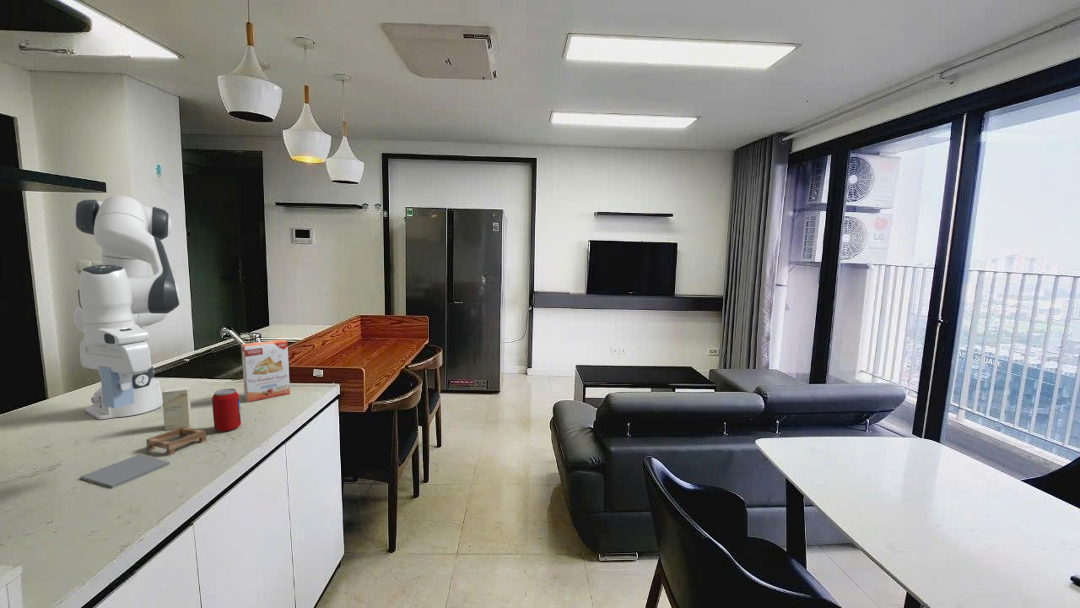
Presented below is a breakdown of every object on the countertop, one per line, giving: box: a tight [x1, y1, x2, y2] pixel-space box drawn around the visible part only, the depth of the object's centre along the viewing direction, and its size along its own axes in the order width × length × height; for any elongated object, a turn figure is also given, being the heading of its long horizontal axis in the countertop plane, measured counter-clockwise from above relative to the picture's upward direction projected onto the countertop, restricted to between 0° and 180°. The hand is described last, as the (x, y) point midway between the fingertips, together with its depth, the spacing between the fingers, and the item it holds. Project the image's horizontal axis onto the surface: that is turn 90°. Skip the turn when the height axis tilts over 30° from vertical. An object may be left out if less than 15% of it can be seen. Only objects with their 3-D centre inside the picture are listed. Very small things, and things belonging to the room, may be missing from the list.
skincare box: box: [161, 385, 192, 431], centre depth 136 cm, size 6×4×12 cm
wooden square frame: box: [145, 426, 207, 456], centre depth 123 cm, size 9×9×3 cm
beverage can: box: [211, 388, 242, 433], centre depth 134 cm, size 7×7×12 cm
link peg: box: [99, 366, 135, 408], centre depth 106 cm, size 4×4×10 cm
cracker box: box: [240, 339, 291, 403], centre depth 163 cm, size 14×6×21 cm, turn 134°
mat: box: [80, 454, 170, 489], centre depth 109 cm, size 12×12×1 cm
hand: (117, 388), depth 106 cm, fingers closed on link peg, 4 cm apart
